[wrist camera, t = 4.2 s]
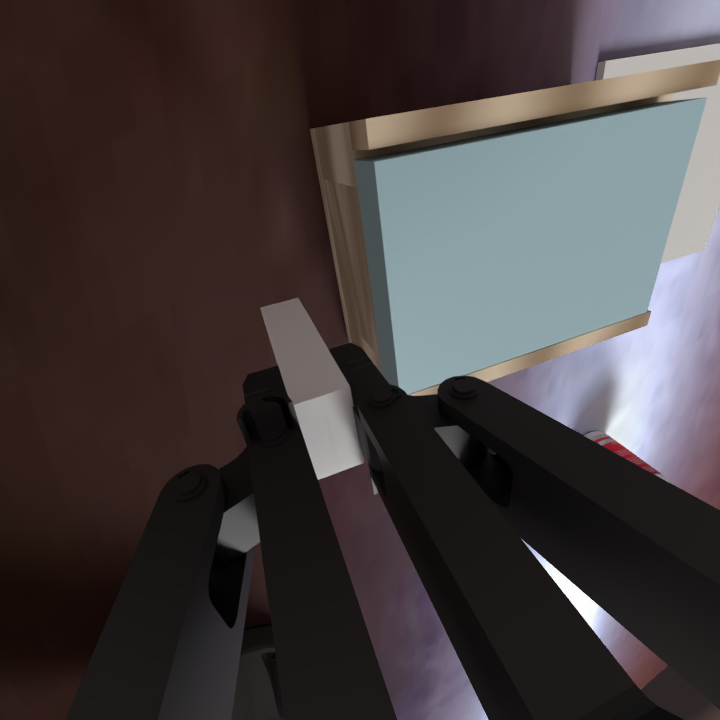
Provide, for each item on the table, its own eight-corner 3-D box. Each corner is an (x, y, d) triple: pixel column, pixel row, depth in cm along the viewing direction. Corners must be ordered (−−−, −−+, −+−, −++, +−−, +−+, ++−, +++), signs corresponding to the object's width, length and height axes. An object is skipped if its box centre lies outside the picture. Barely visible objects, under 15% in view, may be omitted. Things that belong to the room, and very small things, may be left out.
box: (348, 344, 29) (399, 413, 21) (309, 128, 21) (365, 118, 14) (546, 284, 32) (647, 325, 25) (571, 85, 25) (724, 59, 18)
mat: (563, 289, 33) (569, 291, 33) (598, 62, 25) (606, 60, 25) (698, 248, 37) (705, 249, 36) (768, 36, 28) (778, 34, 28)
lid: (382, 374, 22) (399, 397, 20) (353, 160, 16) (374, 162, 14) (612, 299, 26) (646, 312, 24) (657, 102, 20) (707, 97, 18)
